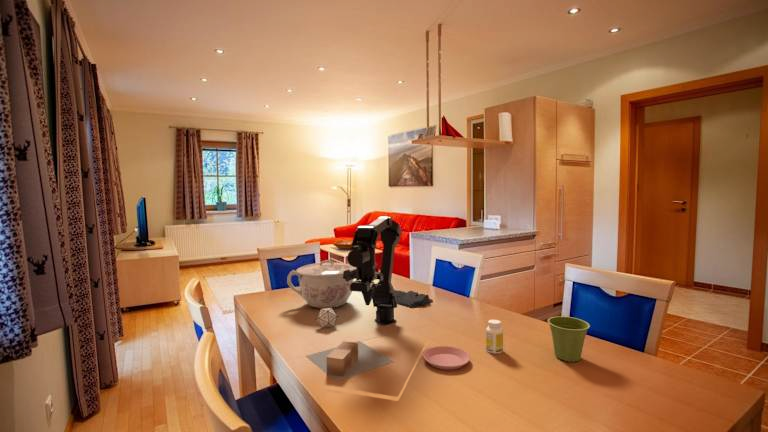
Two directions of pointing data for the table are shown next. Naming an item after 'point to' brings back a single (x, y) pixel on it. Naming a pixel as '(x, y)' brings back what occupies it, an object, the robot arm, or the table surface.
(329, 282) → the chamber pot
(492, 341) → the supplement bottle
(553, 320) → the plant pot
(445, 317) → the table surface
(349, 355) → the walnut block
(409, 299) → the dark slate chunk
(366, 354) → the rubber mat
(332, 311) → the game die
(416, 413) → the table surface
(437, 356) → the plate
